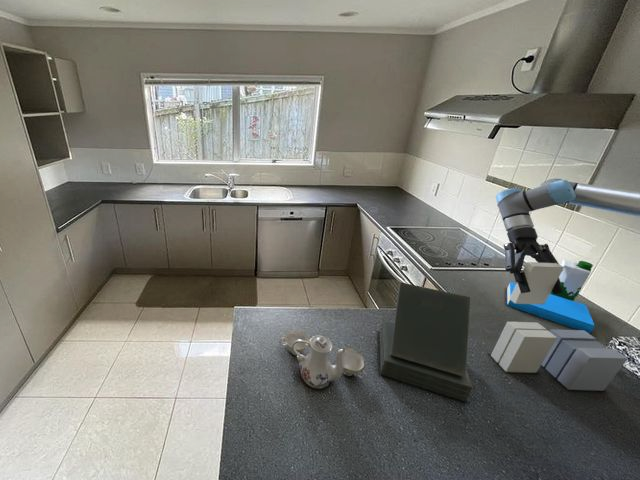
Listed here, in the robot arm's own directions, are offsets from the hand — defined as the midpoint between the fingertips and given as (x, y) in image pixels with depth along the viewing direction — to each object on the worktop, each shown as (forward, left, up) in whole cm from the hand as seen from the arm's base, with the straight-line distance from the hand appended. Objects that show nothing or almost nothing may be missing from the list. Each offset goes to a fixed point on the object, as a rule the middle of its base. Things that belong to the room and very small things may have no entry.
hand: (541, 293), depth 92 cm
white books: (-1, +11, -23) cm, 26 cm away
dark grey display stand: (+19, +36, -23) cm, 47 cm away
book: (-4, -38, -23) cm, 45 cm away
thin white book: (+2, -2, -6) cm, 7 cm away
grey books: (-14, +1, -23) cm, 27 cm away
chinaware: (+38, +64, -23) cm, 78 cm away
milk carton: (-7, -53, -23) cm, 58 cm away
